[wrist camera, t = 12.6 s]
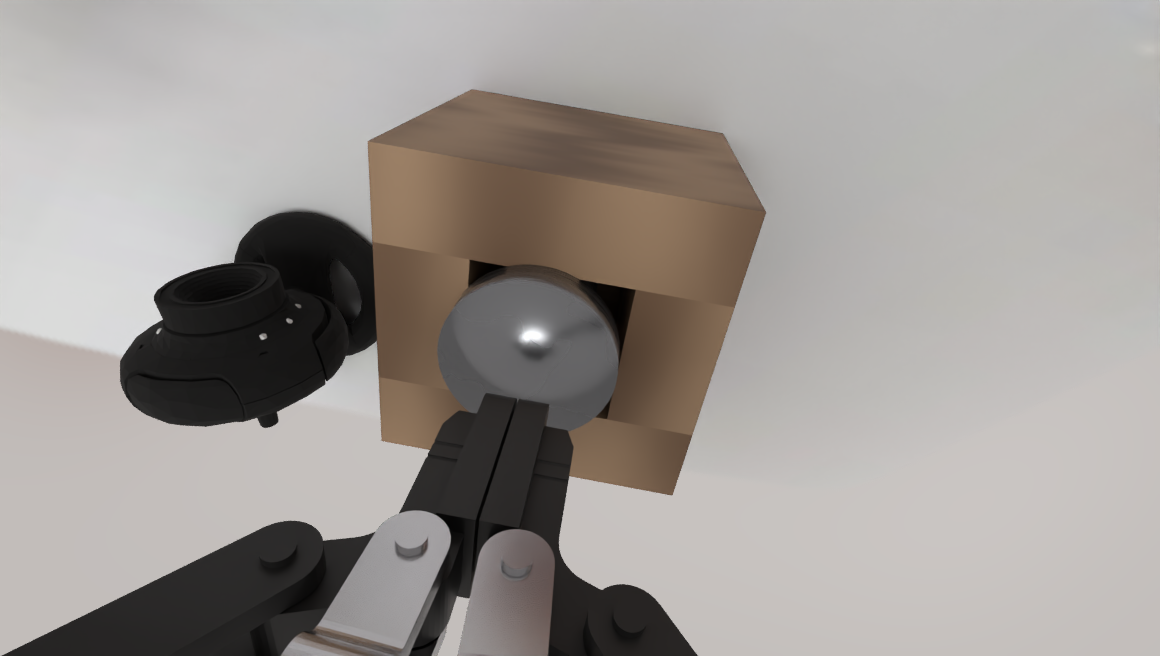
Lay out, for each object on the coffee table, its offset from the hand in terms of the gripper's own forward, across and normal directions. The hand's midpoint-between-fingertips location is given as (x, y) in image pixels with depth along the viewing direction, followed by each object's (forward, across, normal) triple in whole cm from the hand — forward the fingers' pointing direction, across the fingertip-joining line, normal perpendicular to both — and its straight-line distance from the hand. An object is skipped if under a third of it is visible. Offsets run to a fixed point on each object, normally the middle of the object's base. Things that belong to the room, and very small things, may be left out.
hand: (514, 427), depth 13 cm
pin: (+13, 0, 0) cm, 13 cm away
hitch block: (+13, 0, 0) cm, 13 cm away
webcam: (+14, +12, +5) cm, 19 cm away
